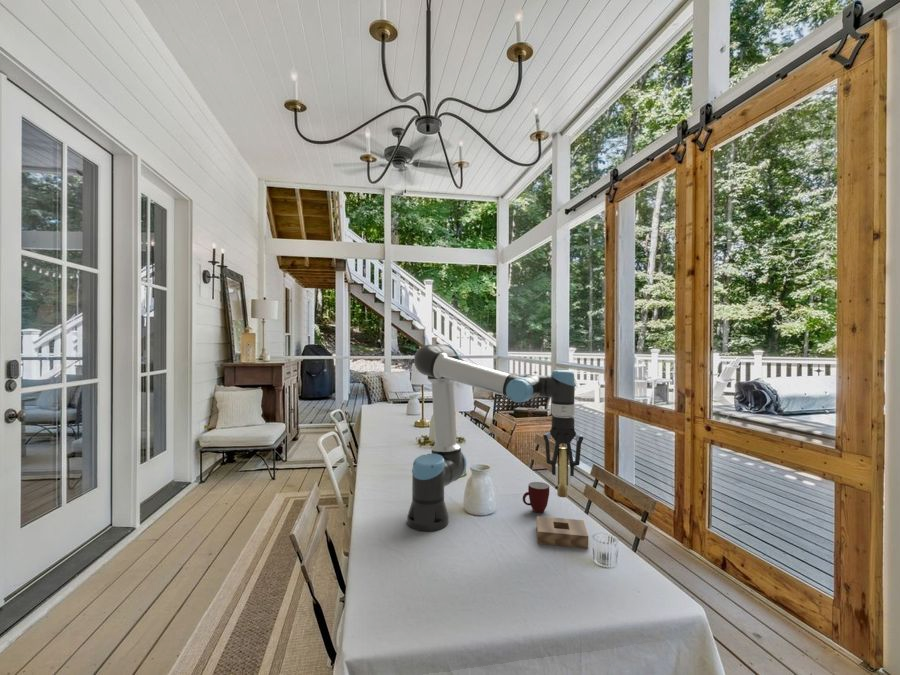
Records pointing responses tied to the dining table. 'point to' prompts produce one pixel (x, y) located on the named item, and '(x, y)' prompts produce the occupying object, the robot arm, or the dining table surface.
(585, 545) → the socket block
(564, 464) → the brass peg
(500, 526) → the dining table surface
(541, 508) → the mug
